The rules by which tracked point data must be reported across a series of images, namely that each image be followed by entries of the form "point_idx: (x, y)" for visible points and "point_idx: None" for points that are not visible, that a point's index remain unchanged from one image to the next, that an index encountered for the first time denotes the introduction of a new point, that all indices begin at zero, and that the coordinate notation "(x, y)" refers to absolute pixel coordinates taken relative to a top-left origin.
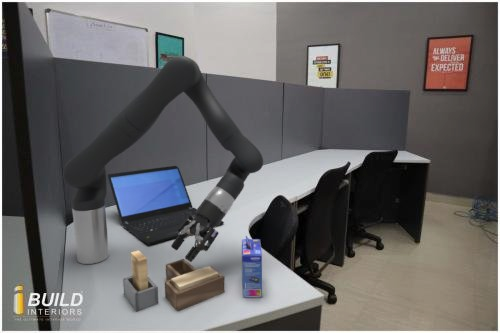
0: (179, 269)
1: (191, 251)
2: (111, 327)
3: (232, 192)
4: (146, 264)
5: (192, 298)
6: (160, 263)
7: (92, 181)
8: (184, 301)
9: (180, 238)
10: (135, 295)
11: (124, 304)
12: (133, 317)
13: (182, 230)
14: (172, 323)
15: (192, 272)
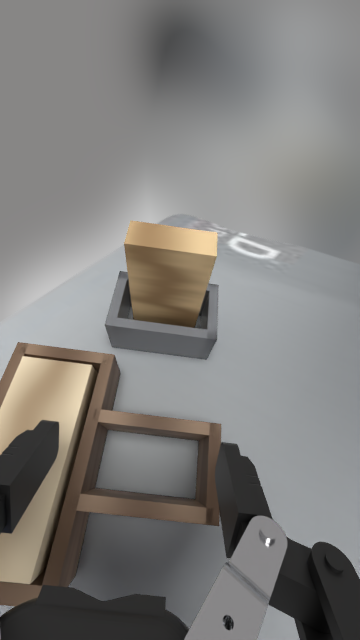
0: (200, 485)
1: (13, 454)
2: (116, 251)
3: None
4: (126, 260)
5: None
6: (324, 477)
7: None
8: None
9: (232, 515)
10: (120, 272)
11: None
12: (111, 286)
13: (267, 569)
14: (16, 329)
15: (57, 458)
